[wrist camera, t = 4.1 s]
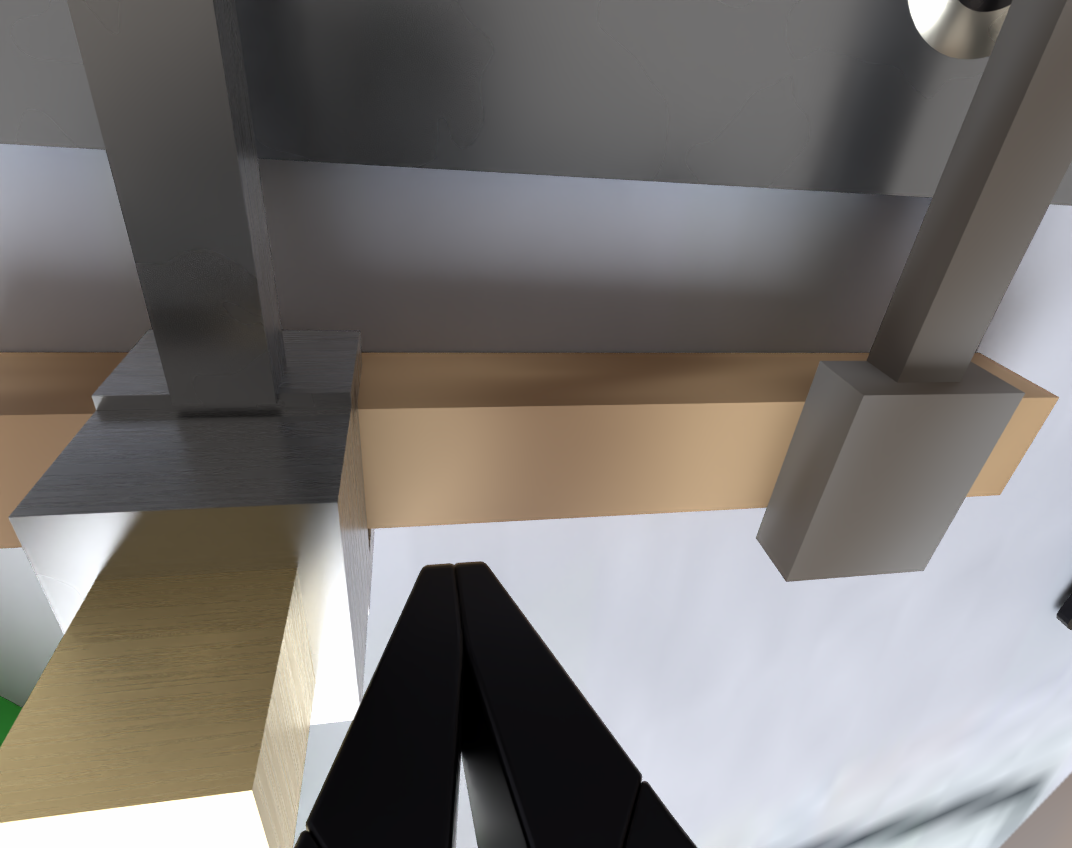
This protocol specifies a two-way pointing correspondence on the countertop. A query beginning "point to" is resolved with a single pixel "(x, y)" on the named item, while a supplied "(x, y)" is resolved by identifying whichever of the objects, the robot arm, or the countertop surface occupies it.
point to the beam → (716, 385)
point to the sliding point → (192, 491)
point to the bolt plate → (574, 86)
